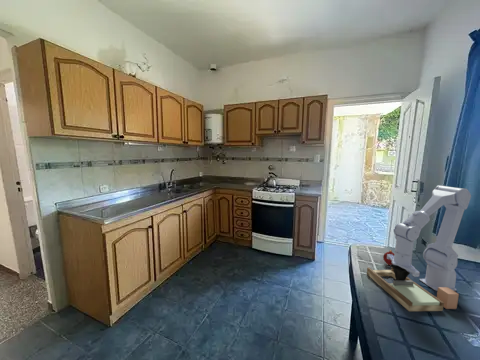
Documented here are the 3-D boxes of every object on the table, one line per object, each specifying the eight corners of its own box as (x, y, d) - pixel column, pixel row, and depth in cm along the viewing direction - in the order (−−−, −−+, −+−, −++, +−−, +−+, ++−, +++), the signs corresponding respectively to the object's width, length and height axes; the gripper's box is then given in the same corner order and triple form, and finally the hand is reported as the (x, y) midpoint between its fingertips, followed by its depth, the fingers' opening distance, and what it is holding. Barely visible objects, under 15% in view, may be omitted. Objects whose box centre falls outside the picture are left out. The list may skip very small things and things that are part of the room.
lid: (413, 286, 88) (414, 280, 88) (439, 305, 77) (440, 298, 77) (389, 286, 88) (390, 280, 87) (412, 305, 77) (413, 298, 77)
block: (445, 301, 83) (447, 287, 82) (456, 308, 79) (458, 294, 78) (435, 301, 83) (438, 287, 82) (446, 308, 79) (448, 294, 78)
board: (392, 273, 101) (393, 267, 101) (442, 310, 77) (444, 302, 77) (366, 273, 101) (367, 267, 100) (408, 311, 77) (410, 303, 76)
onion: (398, 268, 106) (400, 253, 105) (385, 267, 107) (387, 252, 106) (392, 263, 112) (394, 248, 111) (380, 261, 113) (382, 247, 112)
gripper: (381, 244, 94) (378, 273, 96) (408, 261, 80) (404, 294, 82) (396, 245, 95) (393, 273, 97) (426, 261, 80) (421, 294, 82)
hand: (399, 282), depth 89 cm, fingers closed
